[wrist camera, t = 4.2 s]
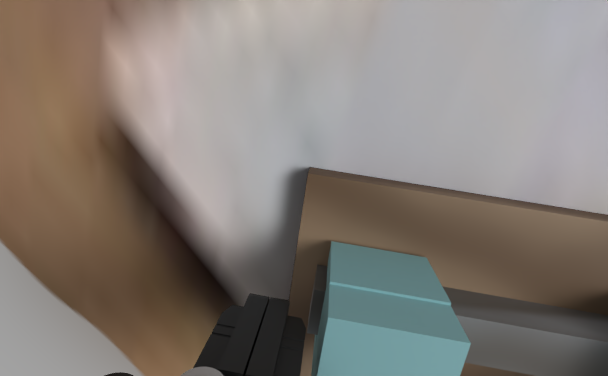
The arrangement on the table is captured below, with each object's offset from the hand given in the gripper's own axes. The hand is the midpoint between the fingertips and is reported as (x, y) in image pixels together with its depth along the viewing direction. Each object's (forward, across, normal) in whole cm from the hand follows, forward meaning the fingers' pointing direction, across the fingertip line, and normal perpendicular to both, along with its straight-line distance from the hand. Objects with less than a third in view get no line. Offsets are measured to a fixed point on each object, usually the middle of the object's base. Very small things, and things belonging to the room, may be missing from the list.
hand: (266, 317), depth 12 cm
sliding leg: (+3, -4, +3) cm, 6 cm away
